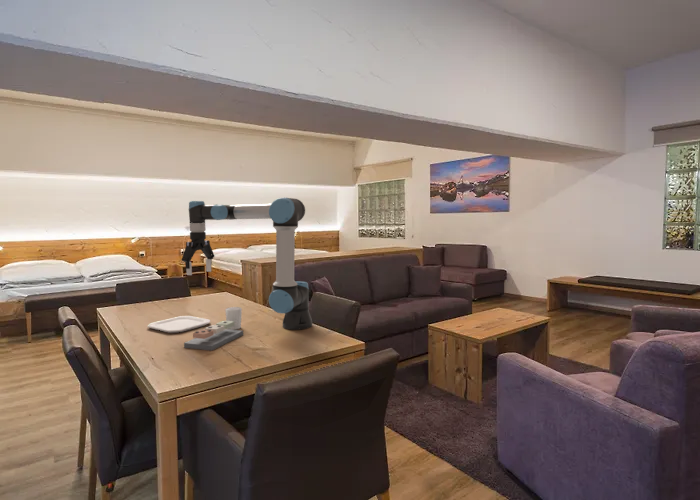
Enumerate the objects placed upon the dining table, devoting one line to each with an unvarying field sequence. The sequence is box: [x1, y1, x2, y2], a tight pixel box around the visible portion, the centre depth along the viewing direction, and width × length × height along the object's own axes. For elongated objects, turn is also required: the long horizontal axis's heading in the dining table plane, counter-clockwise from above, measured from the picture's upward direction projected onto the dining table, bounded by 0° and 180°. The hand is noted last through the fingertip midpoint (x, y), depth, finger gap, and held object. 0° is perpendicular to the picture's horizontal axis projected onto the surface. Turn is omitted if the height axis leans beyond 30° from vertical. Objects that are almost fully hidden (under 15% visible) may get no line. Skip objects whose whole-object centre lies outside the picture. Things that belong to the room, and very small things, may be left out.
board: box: [183, 329, 244, 351], centre depth 187 cm, size 14×24×2 cm, turn 162°
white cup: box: [224, 306, 243, 330], centre depth 208 cm, size 8×8×10 cm
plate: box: [147, 315, 211, 334], centre depth 212 cm, size 25×25×2 cm
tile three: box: [192, 328, 214, 339], centre depth 179 cm, size 6×6×2 cm
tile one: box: [215, 320, 234, 329], centre depth 194 cm, size 6×6×2 cm
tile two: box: [204, 324, 224, 334], centre depth 186 cm, size 6×6×2 cm
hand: (199, 273), depth 210 cm, fingers open, 13 cm apart
